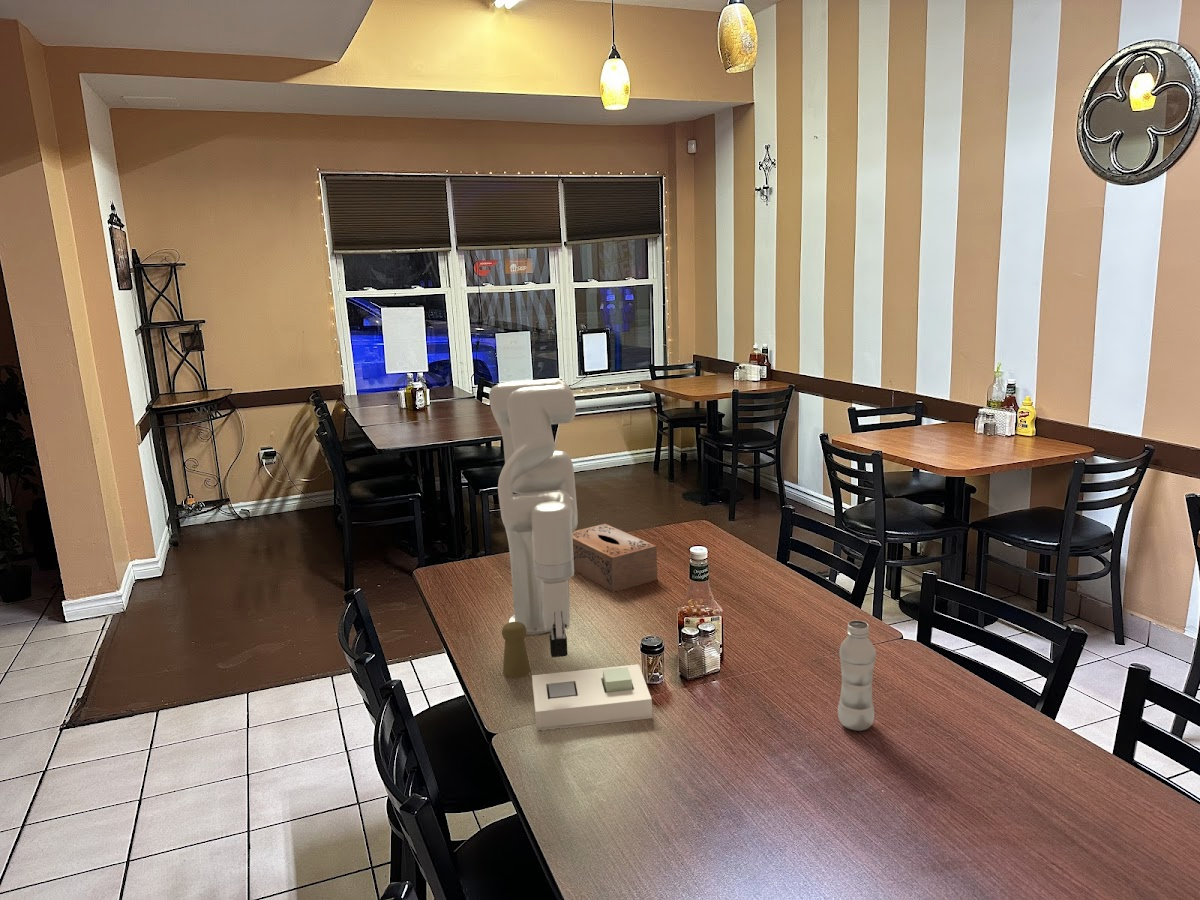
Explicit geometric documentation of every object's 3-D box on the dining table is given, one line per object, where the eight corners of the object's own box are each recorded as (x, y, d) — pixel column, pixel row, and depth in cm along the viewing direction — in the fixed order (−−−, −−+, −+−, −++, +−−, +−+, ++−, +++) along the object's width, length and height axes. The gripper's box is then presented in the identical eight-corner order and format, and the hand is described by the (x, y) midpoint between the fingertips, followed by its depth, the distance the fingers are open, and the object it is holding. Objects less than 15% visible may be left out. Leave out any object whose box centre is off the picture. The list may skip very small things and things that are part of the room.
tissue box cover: (657, 580, 220) (656, 545, 218) (613, 593, 213) (612, 557, 211) (606, 555, 242) (605, 523, 239) (565, 566, 234) (563, 533, 232)
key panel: (533, 693, 163) (531, 675, 162) (639, 681, 166) (638, 664, 165) (536, 731, 150) (535, 711, 149) (652, 718, 152) (651, 698, 151)
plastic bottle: (874, 718, 149) (877, 618, 145) (873, 738, 143) (877, 634, 138) (838, 713, 151) (840, 614, 147) (836, 732, 145) (838, 630, 140)
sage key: (603, 683, 160) (602, 669, 159) (628, 680, 160) (627, 667, 160) (606, 696, 155) (606, 682, 154) (632, 693, 156) (631, 679, 155)
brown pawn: (526, 679, 169) (523, 631, 167) (499, 677, 170) (495, 629, 168) (534, 665, 175) (531, 618, 172) (508, 664, 176) (504, 617, 174)
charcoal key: (549, 698, 159) (548, 684, 158) (574, 695, 160) (573, 681, 159) (550, 711, 154) (549, 697, 154) (576, 708, 155) (575, 694, 154)
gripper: (532, 554, 158) (537, 638, 162) (536, 584, 143) (542, 676, 148) (570, 550, 159) (574, 635, 163) (578, 581, 144) (582, 672, 149)
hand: (559, 654), depth 156 cm, fingers closed
